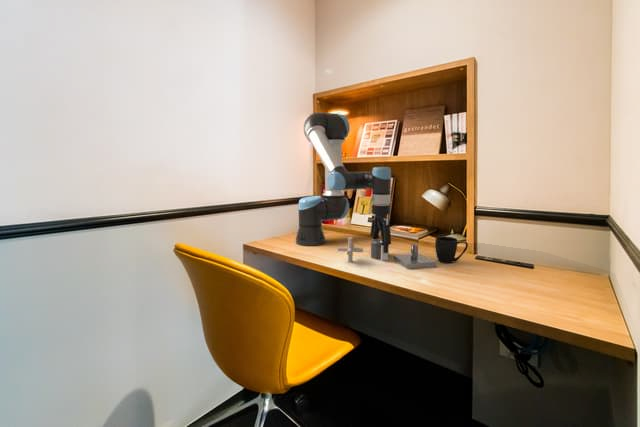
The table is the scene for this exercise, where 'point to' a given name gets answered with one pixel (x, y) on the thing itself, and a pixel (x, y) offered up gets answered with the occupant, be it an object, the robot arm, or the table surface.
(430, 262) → the shaft block
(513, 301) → the table surface
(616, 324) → the table surface
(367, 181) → the robot arm
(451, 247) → the mug
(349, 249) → the pipe connector
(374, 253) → the knob
